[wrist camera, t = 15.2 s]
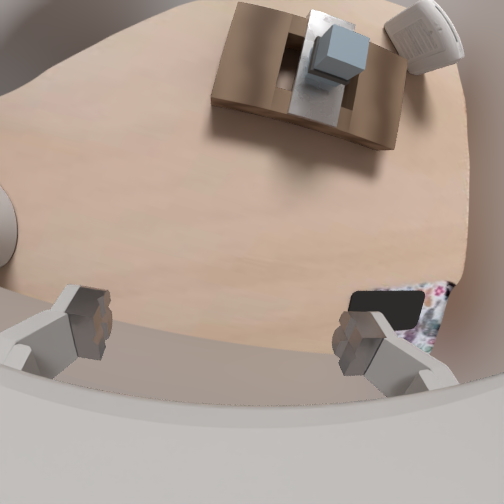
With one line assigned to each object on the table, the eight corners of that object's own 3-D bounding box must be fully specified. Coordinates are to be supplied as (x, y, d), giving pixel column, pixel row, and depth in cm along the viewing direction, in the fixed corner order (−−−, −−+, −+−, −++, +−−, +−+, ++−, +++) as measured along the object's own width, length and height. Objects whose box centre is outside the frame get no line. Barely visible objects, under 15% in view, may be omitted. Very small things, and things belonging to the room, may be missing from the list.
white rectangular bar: (281, 117, 37) (288, 112, 33) (303, 21, 33) (311, 9, 30) (325, 130, 38) (336, 127, 34) (344, 34, 34) (355, 24, 31)
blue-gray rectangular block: (301, 78, 32) (323, 57, 24) (308, 46, 31) (331, 20, 23) (337, 89, 33) (367, 73, 25) (343, 58, 32) (372, 37, 24)
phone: (416, 328, 50) (344, 334, 48) (413, 326, 51) (342, 331, 49) (426, 290, 48) (353, 291, 46) (424, 289, 49) (351, 289, 47)
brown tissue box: (211, 105, 37) (210, 96, 33) (235, 17, 34) (238, 1, 29) (376, 150, 41) (394, 149, 36) (390, 67, 38) (407, 59, 33)
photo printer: (426, 72, 39) (476, 57, 27) (409, 78, 39) (459, 62, 27) (396, 19, 36) (439, -8, 24) (378, 23, 36) (420, -7, 24)
